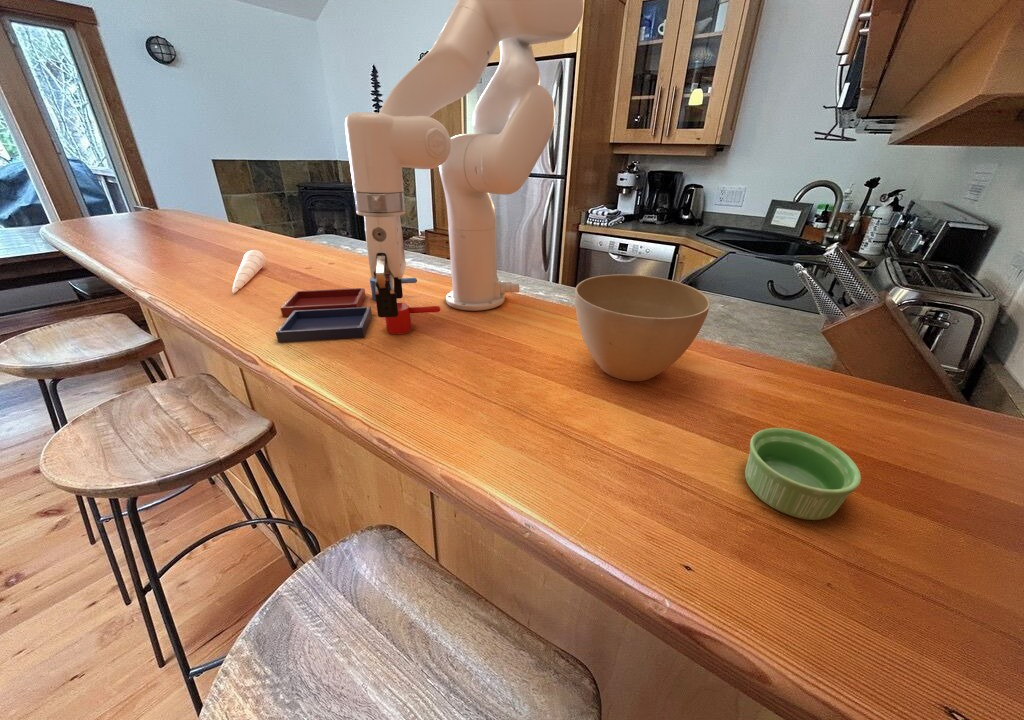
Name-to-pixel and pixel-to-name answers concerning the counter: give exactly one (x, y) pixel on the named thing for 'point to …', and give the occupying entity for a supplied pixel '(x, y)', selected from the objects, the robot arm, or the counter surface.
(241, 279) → the unicorn horn
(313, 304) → the red tray
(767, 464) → the ramekin
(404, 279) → the blue scoop
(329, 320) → the blue tray
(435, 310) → the red scoop
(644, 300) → the tan bowl
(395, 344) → the counter surface
